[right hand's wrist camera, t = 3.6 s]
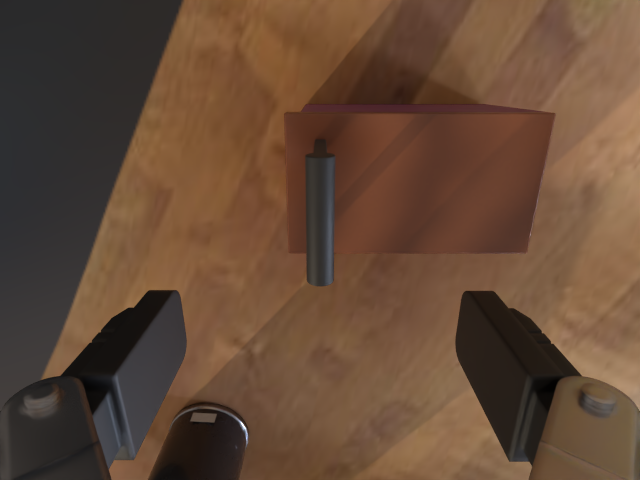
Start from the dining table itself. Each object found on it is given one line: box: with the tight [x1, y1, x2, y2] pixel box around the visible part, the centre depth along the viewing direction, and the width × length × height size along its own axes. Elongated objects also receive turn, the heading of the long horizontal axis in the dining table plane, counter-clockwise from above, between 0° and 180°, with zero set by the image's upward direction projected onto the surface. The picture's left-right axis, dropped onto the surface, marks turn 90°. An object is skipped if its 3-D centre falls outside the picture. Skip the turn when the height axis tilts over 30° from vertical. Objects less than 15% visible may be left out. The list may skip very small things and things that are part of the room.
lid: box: [284, 112, 556, 286], centre depth 23 cm, size 16×9×9 cm, turn 90°
